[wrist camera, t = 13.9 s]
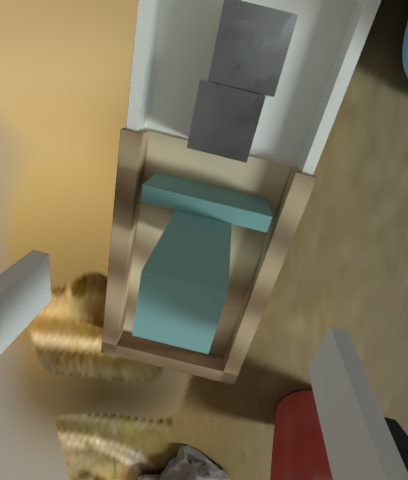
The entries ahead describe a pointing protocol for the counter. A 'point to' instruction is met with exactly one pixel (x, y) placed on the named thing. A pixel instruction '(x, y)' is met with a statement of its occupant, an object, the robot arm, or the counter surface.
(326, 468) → the flower pot
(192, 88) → the tray
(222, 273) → the rake tool
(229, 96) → the block
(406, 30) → the teapot
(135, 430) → the counter surface
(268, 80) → the block
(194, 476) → the stone
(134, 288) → the slot board
